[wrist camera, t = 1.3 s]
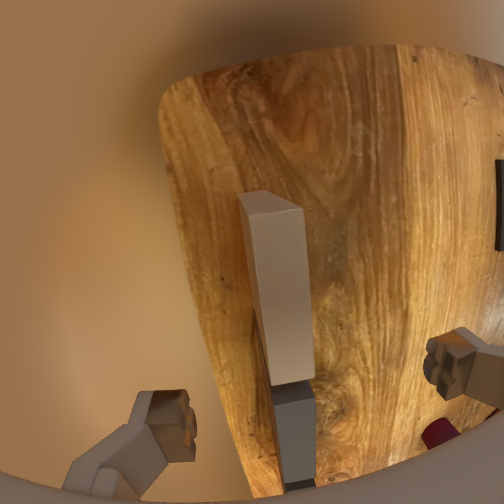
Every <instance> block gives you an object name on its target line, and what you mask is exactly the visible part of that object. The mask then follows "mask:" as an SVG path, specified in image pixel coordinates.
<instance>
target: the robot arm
mask: <svg viewBox="0 0 504 504" xmlns="http://www.w3.org/2000/svg"><path fill="white" fill-rule="evenodd" d="M426 350H427V352H428V355H427V356H426V358H425V359H424V364H423V370H424V375H425V377H426V379H427V381H428V382H429V383H430V384H433V385H436V386H437V390H436V391H437V392H438V393H439V394H440V395H441V396H442V398H443V399H444V400H445V401H448V400H450V399H452V398H455V397H457V396H459V395H461V394H464V395H467V396H469V397H471V398H474V399H476V400H478V401H481V402H483V403H485V404H488V405H490V406H493V407H495V408H497V409H500V410H501V411H500V412H498V413H497V414H495V415H494V416H492V417H490V418H489V419H487V420H485V421H484V422H482V423H480V424H479V425H477V426H475V427H473V428H472V429H470V430H468V431H466V432H464V433H463V434H461V435H459V436H457V437H455V438H453V439H451V440H449V441H447V442H445V443H443V444H441V445H439V446H437V447H435V448H432V449H430V450H428V451H426V452H424V453H421V454H419V455H417V456H414V457H412V458H410V459H407V460H405V461H402V462H400V463H397V464H394V465H392V466H389V467H386V468H383V469H380V470H378V471H375V472H372V473H369V474H366V475H362V476H359V477H356V478H352V479H349V480H345V481H342V482H338V483H334V484H330V485H326V486H322V487H318V488H314V489H309V490H304V491H299V492H294V493H289V494H283V495H277V496H270V497H263V498H255V499H247V500H237V501H224V502H205V503H165V502H145V501H141V500H140V497H141V496H142V495H143V494H144V493H145V492H146V490H147V489H148V488H149V487H150V486H151V485H152V483H153V482H154V481H155V480H156V479H157V477H158V476H159V475H160V474H161V473H162V471H163V470H164V469H165V468H166V467H167V465H168V463H174V462H192V461H195V453H196V445H195V442H194V440H193V439H194V438H195V437H196V436H197V423H196V417H195V413H194V410H193V409H192V408H191V407H190V406H189V400H190V398H189V396H188V393H187V391H186V390H185V389H180V390H158V391H141V392H139V393H138V395H137V398H136V401H135V404H134V406H133V409H132V412H131V415H130V418H129V421H128V424H123V425H122V426H121V427H119V428H118V429H116V430H115V431H114V432H112V433H111V434H110V435H108V436H107V437H106V438H104V439H103V440H102V441H100V442H99V443H98V444H96V445H95V446H94V447H92V448H91V449H89V450H88V451H87V452H85V453H84V454H83V455H81V456H80V457H78V458H77V459H76V460H75V461H73V462H72V464H71V466H70V469H69V471H68V473H67V476H66V478H65V481H64V483H63V486H62V488H61V489H58V488H54V487H50V486H46V485H42V484H39V483H35V482H31V481H28V480H25V479H22V478H19V477H16V476H13V475H9V474H7V473H4V472H1V471H0V504H504V346H500V345H495V344H490V345H488V344H487V343H485V342H484V341H483V340H481V339H480V338H479V337H477V336H476V335H474V334H473V333H472V332H470V331H469V330H468V329H466V328H465V327H459V328H456V329H454V330H451V331H450V332H447V333H444V334H442V335H439V336H436V337H433V338H430V339H429V340H428V342H427V345H426Z"/></svg>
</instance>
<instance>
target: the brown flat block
mask: <svg viewBox="0 0 504 504" xmlns="http://www.w3.org/2000/svg"><path fill="white" fill-rule="evenodd" d="M237 197H238V204H239V211H240V218H241V225H242V232H243V239H244V246H245V253H246V260H247V267H248V274H249V281H250V288H251V295H252V299H253V304H254V309H255V314H256V318H257V323H258V328H259V332H260V337H261V342H262V346H263V351H264V356H265V360H266V365H267V370H268V374H269V379H270V383H271V385H272V386H275V385H280V384H286V383H291V382H297V381H302V380H307V379H311V378H315V364H314V341H313V322H312V306H311V291H310V277H309V264H308V252H307V241H306V231H305V220H304V211H303V208H301V207H299V206H297V205H295V204H293V203H291V202H289V201H287V200H285V199H283V198H281V197H279V196H277V195H275V194H272V193H270V192H268V191H266V190H261V191H254V192H247V193H240V194H237Z"/></svg>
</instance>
